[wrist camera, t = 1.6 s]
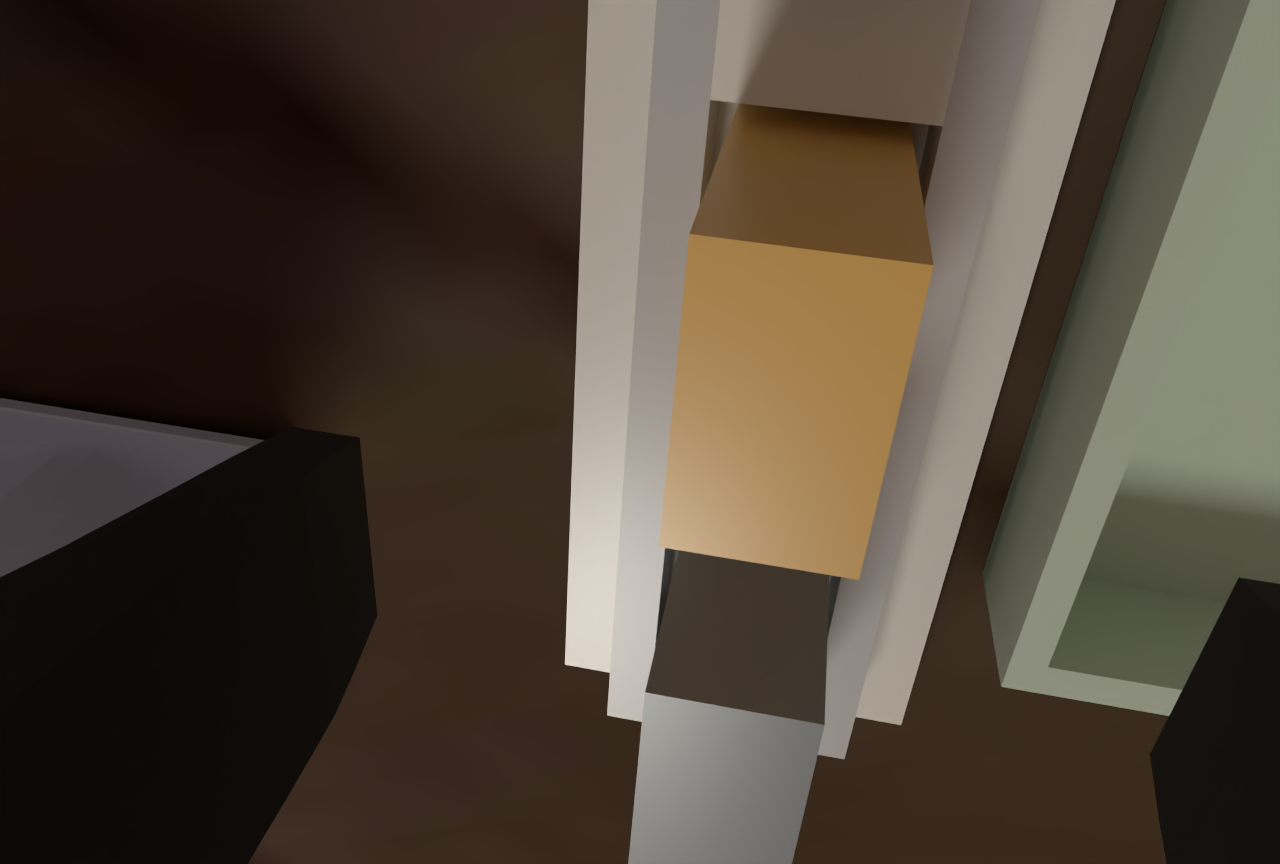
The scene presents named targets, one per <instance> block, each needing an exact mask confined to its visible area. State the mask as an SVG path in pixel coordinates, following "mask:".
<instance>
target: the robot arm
mask: <svg viewBox="0 0 1280 864" xmlns="http://www.w3.org/2000/svg"><path fill="white" fill-rule="evenodd" d="M376 617H377V610H376V599H375V589H374V579H373V569H372V559H371V549H370V539H369V529H368V519H367V509H366V499H365V488H364V478H363V468H362V458H361V448H360V438H358V437H351V436H345V435H339V434H332V433H326V432H320V431H313V430H307V429H301V428H295V427H293V428H290V429H288V430H286V431H284V432H281V433H279V434H277V435H275V436H273V437H270V438H268V439H266V440H260V439H254V438H247V437H241V436H235V435H229V434H222V433H216V432H210V431H204V430H197V429H191V428H185V427H179V426H172V425H166V424H160V423H154V422H147V421H141V420H135V419H128V418H122V417H116V416H110V415H103V414H97V413H91V412H85V411H78V410H72V409H66V408H60V407H53V406H47V405H41V404H35V403H28V402H22V401H16V400H10V399H3V398H0V864H248V862H249V861H250V859H251V857H252V856H253V854H254V852H255V850H256V849H257V847H258V845H259V844H260V842H261V840H262V839H263V837H264V835H265V834H266V832H267V830H268V829H269V827H270V825H271V824H272V822H273V820H274V819H275V817H276V815H277V813H278V812H279V810H280V808H281V807H282V805H283V803H284V802H285V800H286V798H287V797H288V795H289V793H290V792H291V790H292V788H293V786H294V785H295V783H296V781H297V780H298V778H299V776H300V774H301V773H302V771H303V769H304V768H305V766H306V764H307V762H308V761H309V759H310V757H311V756H312V754H313V752H314V750H315V749H316V747H317V745H318V744H319V742H320V740H321V738H322V737H323V735H324V733H325V731H326V730H327V728H328V726H329V724H330V723H331V721H332V719H333V717H334V715H335V713H336V711H337V709H338V706H339V704H340V702H341V700H342V697H343V695H344V693H345V691H346V688H347V686H348V684H349V682H350V680H351V677H352V675H353V673H354V671H355V668H356V666H357V663H358V661H359V658H360V656H361V654H362V651H363V649H364V646H365V644H366V641H367V639H368V637H369V634H370V632H371V629H372V627H373V624H374V622H375V619H376ZM1150 757H1151V765H1152V772H1153V779H1154V786H1155V793H1156V800H1157V808H1158V815H1159V822H1160V827H1161V833H1162V839H1163V845H1164V851H1165V856H1166V862H1167V864H1280V584H1277V583H1271V582H1265V581H1258V580H1252V579H1246V578H1240V577H1239V578H1238V580H1237V582H1236V584H1235V586H1234V588H1233V590H1232V592H1231V594H1230V596H1229V598H1228V600H1227V602H1226V604H1225V606H1224V608H1223V610H1222V612H1221V614H1220V616H1219V618H1218V620H1217V622H1216V624H1215V626H1214V628H1213V630H1212V632H1211V634H1210V636H1209V638H1208V640H1207V642H1206V644H1205V646H1204V648H1203V650H1202V652H1201V654H1200V656H1199V658H1198V660H1197V662H1196V664H1195V666H1194V668H1193V670H1192V672H1191V674H1190V676H1189V678H1188V680H1187V682H1186V684H1185V686H1184V688H1183V690H1182V692H1181V694H1180V696H1179V698H1178V700H1177V702H1176V704H1175V706H1174V708H1173V710H1172V712H1171V714H1170V716H1169V717H1168V719H1167V721H1166V723H1165V725H1164V727H1163V729H1162V731H1161V733H1160V735H1159V737H1158V739H1157V741H1156V743H1155V745H1154V747H1153V749H1152V751H1151V753H1150Z"/></svg>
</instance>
